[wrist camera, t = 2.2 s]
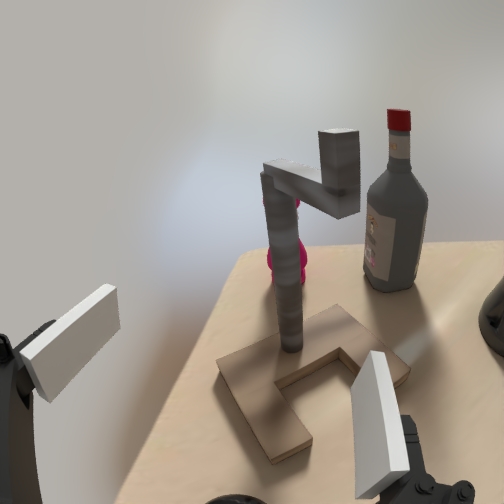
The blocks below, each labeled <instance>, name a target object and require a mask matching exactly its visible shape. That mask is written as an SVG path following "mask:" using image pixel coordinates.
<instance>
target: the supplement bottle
mask: <svg viewBox="0 0 504 504" xmlns="http://www.w3.org/2000/svg"><path fill="white" fill-rule="evenodd" d="M206 504H266V503H265V502H263V501H261V500H259V499H257V498H255V497H252V496H248V495H242V494H230V495H223V496H220V497H217V498H214V499H212V500H210V501H208V502H207V503H206Z"/></svg>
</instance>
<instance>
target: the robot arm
mask: <svg viewBox="0 0 504 504" xmlns="http://www.w3.org/2000/svg"><path fill="white" fill-rule="evenodd" d="M479 326H480V330H481V332H482V335H483V337H484V338H485V340H486V341H487V343H488V344H489V345H490V346H491V347H492V348H493V349H494V350H495V351H496V352H497V353H498V354H500V355H501V356H503V357H504V276H503V278H502V279H501V281H500V282H499V283H498V284H497V286H496V287H495V288H494V289H493V290H492V292H491V293H490V294H489V295H488V296H487V298H486V299H485V301H484V303H483V305H482V308H481V310H480V313H479ZM119 329H120V320H119V311H118V301H117V288H116V287H114V286H111V285H108V284H106V283H105V284H104V285H103V286H101V287H100V288H99V289H97V290H96V291H95V292H93V293H92V294H91V295H90V296H88V297H87V298H86V299H84V300H83V301H82V302H80V303H79V304H78V305H76V306H75V307H74V308H72V309H71V310H70V311H69V312H67V313H66V314H65V315H64V316H62V317H61V318H60V319H59V320H57V321H56V320H52V321H49V322H47V323H45V324H43V325H42V326H41V327H40V328H38V330H36V331H35V332H33V334H31V335H30V336H29V337H27V338H26V339H25V340H24V341H22V342H21V343H20V344H19V345H18V346H16V347H15V348H14V349H12V346H11V344H10V341H9V339H8V337H7V336H6V335H4V334H0V504H42V498H41V493H40V487H39V481H38V474H37V466H36V457H35V446H34V430H33V429H34V428H33V392H32V390H33V389H34V388H36V390H37V392H38V394H39V396H41V397H42V398H43V399H45V400H46V401H47V402H49V403H51V402H52V401H53V400H54V399H55V398H56V397H57V395H58V394H59V393H60V392H61V391H62V390H63V389H64V388H65V387H66V385H67V384H68V383H69V382H70V381H71V380H72V379H73V378H74V377H75V376H76V375H77V373H78V372H79V371H80V370H81V369H82V368H83V367H84V366H85V365H86V364H87V363H88V362H89V361H90V360H91V358H92V357H93V356H94V355H95V354H96V353H97V352H98V351H99V350H100V349H101V348H102V347H103V346H104V345H105V344H106V343H107V342H108V341H109V339H110V338H112V336H114V334H115V333H116V332H117V331H118V330H119ZM350 390H351V402H352V415H353V430H354V451H355V499H373V498H374V497H376V496H377V495H378V494H380V501H378V502H377V503H375V504H473V502H474V497H475V490H474V487H473V485H472V484H471V483H470V482H468V481H465V480H461V481H459V482H457V483H456V484H454V485H453V486H450V485H444V484H439V483H436V481H435V479H434V478H433V477H432V476H431V475H430V474H427V473H426V471H425V466H424V461H423V456H422V451H421V446H420V443H419V437H418V436H417V434H418V432H417V428H416V424H415V422H414V421H413V419H412V418H411V417H410V415H400V413H399V409H398V404H397V400H396V396H395V391H394V387H393V383H392V379H391V376H390V372H389V368H388V364H387V361H386V357H385V353H384V352H378V351H371V350H370V352H369V354H368V356H367V358H366V360H365V362H364V364H363V366H362V368H361V370H360V372H359V374H358V376H357V377H356V379H355V381H354V383H353V385H352V386H351V388H350Z"/></svg>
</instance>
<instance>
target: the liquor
mask: <svg viewBox="0 0 504 504" xmlns="http://www.w3.org/2000/svg"><path fill="white" fill-rule="evenodd" d="M387 122H388V129H389V162H388V164H387V170H386V171H385V172H384V173H383V174H382V175H381V176H380V177H379V178H378V179H377V180H376V181H375V182H374V183H373V184H372V185H371V186H370V188H369V190H368V193H367V218H366V238H365V251H364V264H363V270H364V272H365V274H366V276H367V277H368V279H369V281H370V283H371V285H372V286H373V288H374V289H376V290H379V291H382V292H385V293H388V292H393V291H398V290H403V289H408V288H410V287H411V286H412V284H413V282H414V280H415V278H416V274H417V269H418V265H419V260H420V254H421V249H422V243H423V237H424V231H425V223H426V217H427V209H428V198H427V194H426V192H425V191H424V189H423V188H422V186H421V185H420V183H419V182H418V180H417V179H416V178H415V176H414V175H413V173H412V172H411V169H412V168H411V165H410V131H411V116H410V111H408V110H400V109H387Z"/></svg>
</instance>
